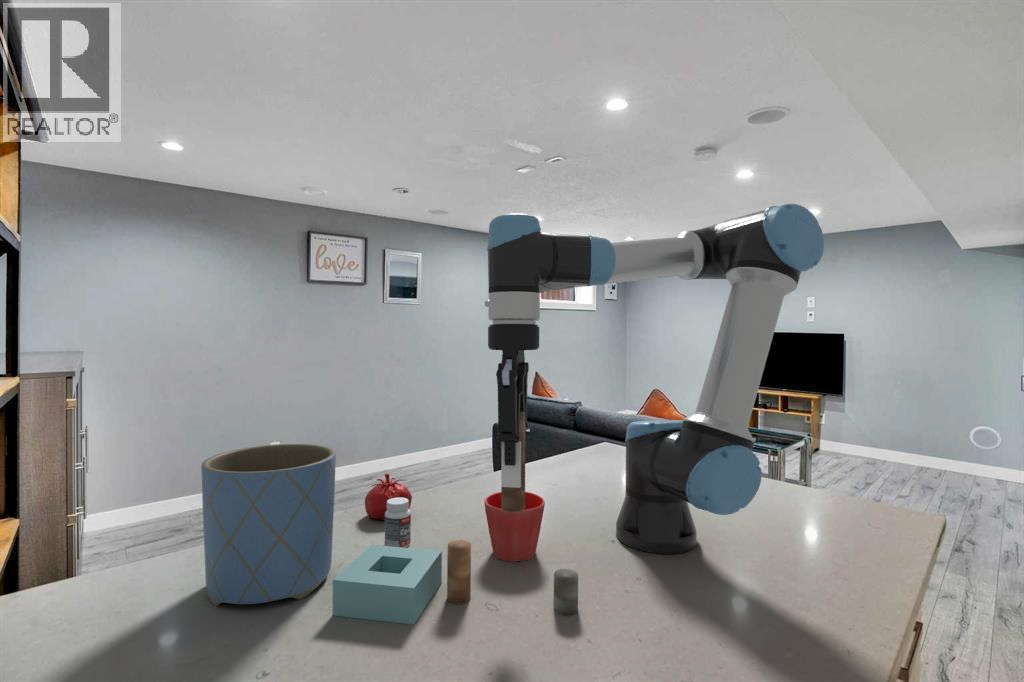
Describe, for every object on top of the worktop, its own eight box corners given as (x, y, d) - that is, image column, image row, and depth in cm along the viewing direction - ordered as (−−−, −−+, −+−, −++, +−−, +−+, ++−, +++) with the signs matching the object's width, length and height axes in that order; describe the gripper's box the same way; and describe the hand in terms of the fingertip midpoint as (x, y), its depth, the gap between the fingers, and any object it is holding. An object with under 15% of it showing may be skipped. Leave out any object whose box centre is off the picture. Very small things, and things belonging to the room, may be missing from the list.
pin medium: (473, 593, 77) (473, 540, 77) (467, 605, 73) (467, 550, 73) (451, 590, 77) (451, 539, 77) (444, 602, 74) (444, 548, 74)
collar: (441, 582, 80) (441, 551, 80) (413, 624, 68) (414, 588, 68) (371, 575, 82) (371, 544, 82) (332, 615, 70) (332, 579, 70)
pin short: (578, 603, 74) (578, 570, 74) (577, 616, 71) (577, 581, 71) (554, 601, 75) (555, 567, 75) (552, 614, 71) (552, 579, 71)
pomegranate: (389, 528, 103) (389, 483, 102) (354, 519, 108) (354, 476, 107) (421, 513, 111) (421, 471, 111) (387, 504, 116) (387, 464, 116)
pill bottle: (404, 551, 91) (404, 505, 91) (380, 549, 92) (380, 503, 92) (414, 541, 96) (414, 497, 96) (391, 539, 97) (391, 495, 97)
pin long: (526, 504, 75) (526, 411, 75) (523, 512, 72) (523, 414, 72) (503, 502, 76) (503, 410, 76) (499, 510, 73) (499, 414, 72)
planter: (343, 552, 91) (344, 442, 91) (322, 609, 72) (323, 470, 72) (229, 559, 88) (230, 445, 87) (176, 620, 69) (176, 475, 69)
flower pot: (525, 572, 84) (525, 514, 84) (472, 556, 90) (472, 502, 89) (554, 549, 93) (555, 497, 93) (504, 536, 99) (505, 487, 98)
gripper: (499, 324, 82) (499, 466, 83) (474, 321, 66) (475, 499, 66) (545, 324, 81) (545, 468, 81) (531, 321, 65) (531, 502, 65)
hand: (513, 482), depth 74 cm, fingers closed on pin long, 3 cm apart
